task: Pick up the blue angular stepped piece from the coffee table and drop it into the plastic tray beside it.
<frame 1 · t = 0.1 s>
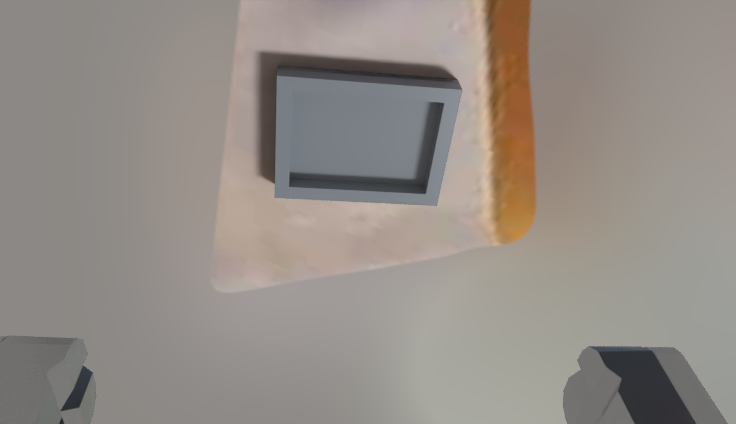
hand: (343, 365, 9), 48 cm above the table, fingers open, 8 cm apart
tray: (362, 134, 61), on the table
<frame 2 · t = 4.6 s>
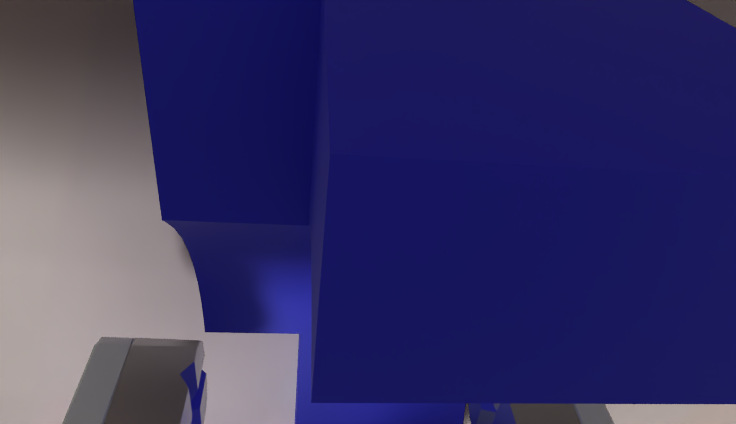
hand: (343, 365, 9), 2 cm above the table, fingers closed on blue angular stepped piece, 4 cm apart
blue angular stepped piece: (343, 265, 11), on the table, touching gripper
when the fingers open (4 cm above the table, at t = 13.8 s): blue angular stepped piece drops 2 cm, resting on tray.
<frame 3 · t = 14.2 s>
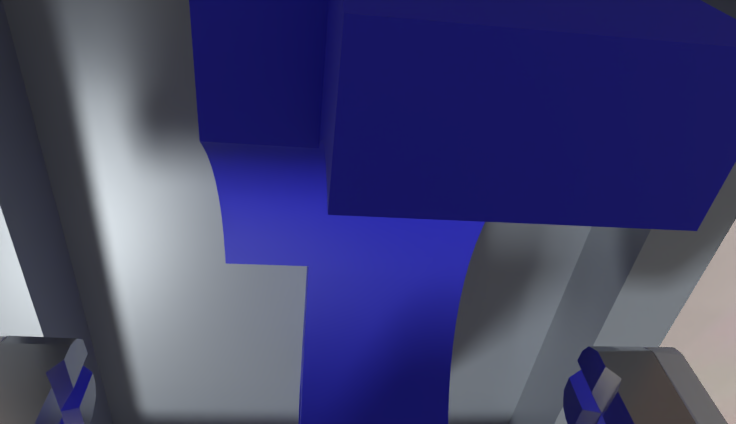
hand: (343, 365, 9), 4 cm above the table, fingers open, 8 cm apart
tray: (335, 217, 13), on the table
blue angular stepped piece: (345, 213, 12), point 1 cm above the table, touching tray
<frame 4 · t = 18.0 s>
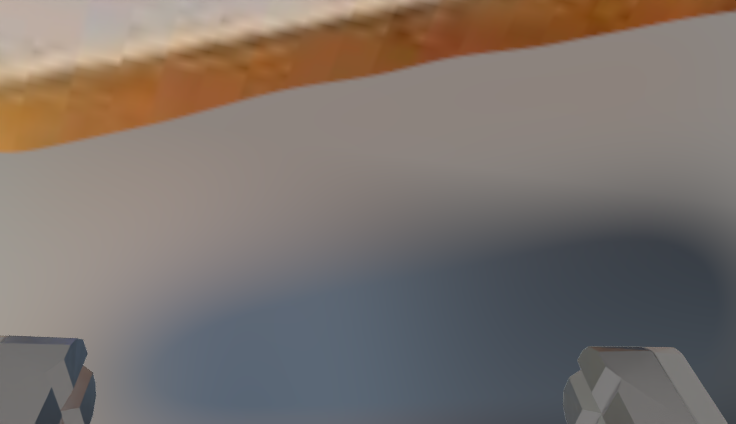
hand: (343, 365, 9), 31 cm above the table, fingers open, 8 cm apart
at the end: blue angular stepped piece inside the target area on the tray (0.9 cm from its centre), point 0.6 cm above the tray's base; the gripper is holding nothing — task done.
